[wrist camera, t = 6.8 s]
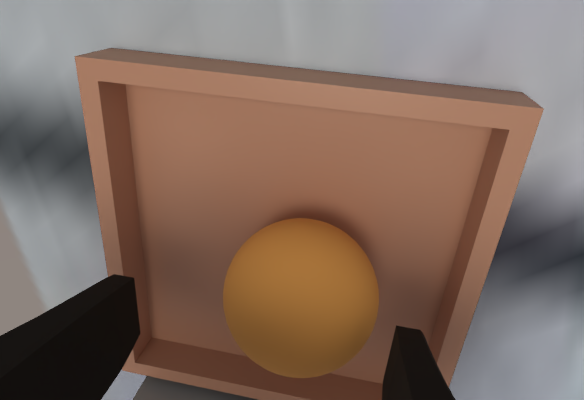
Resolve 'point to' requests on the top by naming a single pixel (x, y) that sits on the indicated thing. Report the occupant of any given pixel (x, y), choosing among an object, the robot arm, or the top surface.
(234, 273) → the ball
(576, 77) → the top surface
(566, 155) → the top surface
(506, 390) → the top surface
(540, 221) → the top surface
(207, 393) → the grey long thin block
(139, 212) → the tray
